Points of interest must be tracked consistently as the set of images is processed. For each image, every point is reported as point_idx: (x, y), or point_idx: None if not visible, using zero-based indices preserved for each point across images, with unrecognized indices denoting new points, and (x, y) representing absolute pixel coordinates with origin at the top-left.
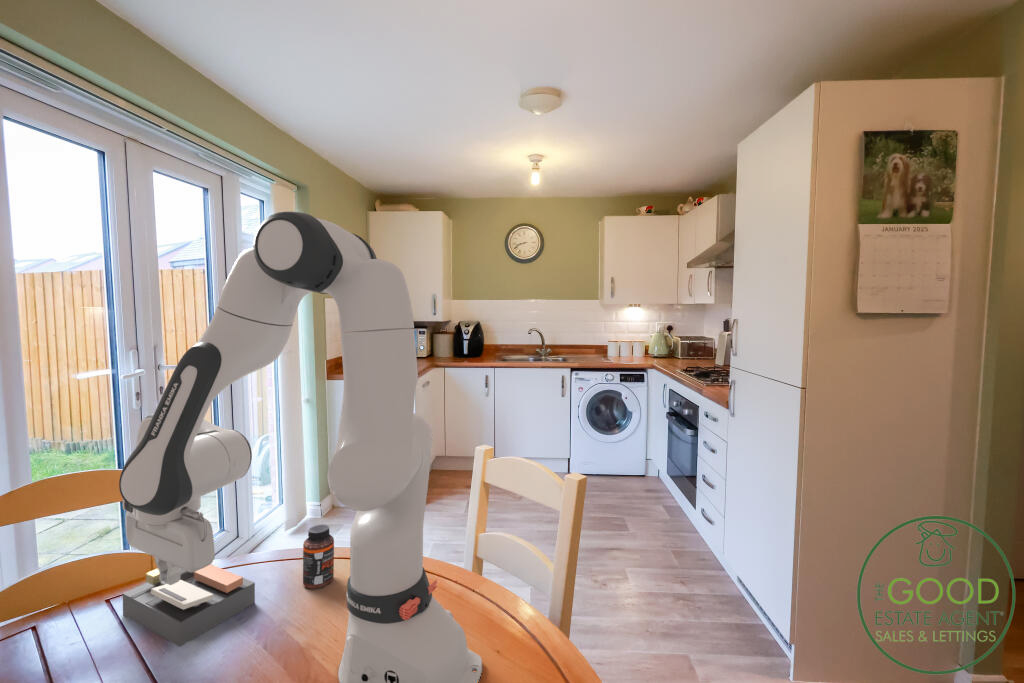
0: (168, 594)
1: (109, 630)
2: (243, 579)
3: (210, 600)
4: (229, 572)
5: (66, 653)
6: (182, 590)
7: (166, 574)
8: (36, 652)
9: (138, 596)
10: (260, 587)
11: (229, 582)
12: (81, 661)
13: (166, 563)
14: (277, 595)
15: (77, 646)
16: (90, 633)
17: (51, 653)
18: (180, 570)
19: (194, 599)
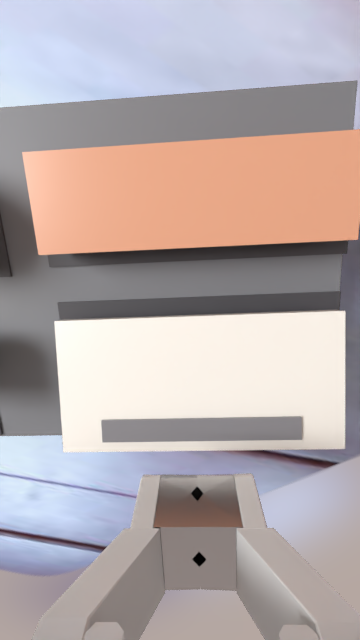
0: (188, 441)
1: (44, 439)
2: (265, 98)
3: (297, 300)
4: (231, 142)
5: (66, 514)
6: (189, 380)
7: (229, 589)
8: (6, 538)
9: (2, 420)
10: (224, 33)
11: (344, 212)
12: (131, 511)
13: (129, 606)
14: (354, 29)
15: (56, 496)
16: (19, 464)
17: (38, 527)
18: (281, 539)
19: (331, 396)
